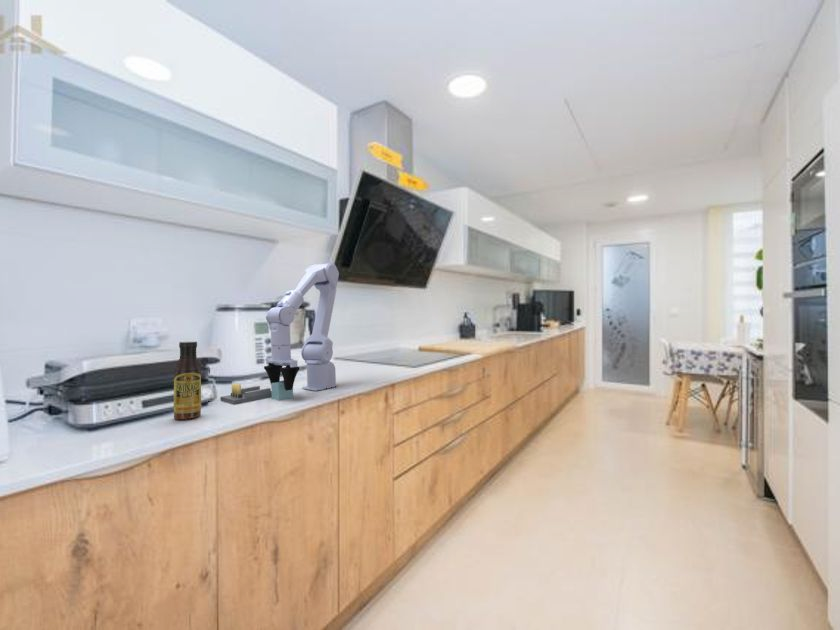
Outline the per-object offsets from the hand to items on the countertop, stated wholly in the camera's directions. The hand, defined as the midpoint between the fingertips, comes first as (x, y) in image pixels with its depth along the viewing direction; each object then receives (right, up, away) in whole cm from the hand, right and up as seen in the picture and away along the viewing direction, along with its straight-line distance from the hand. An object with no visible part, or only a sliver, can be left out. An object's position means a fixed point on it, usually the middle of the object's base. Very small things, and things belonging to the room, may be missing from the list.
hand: (282, 388), depth 124 cm
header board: (-11, -3, +1) cm, 11 cm away
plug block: (0, -3, 0) cm, 3 cm away
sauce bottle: (-17, -4, -20) cm, 27 cm away
